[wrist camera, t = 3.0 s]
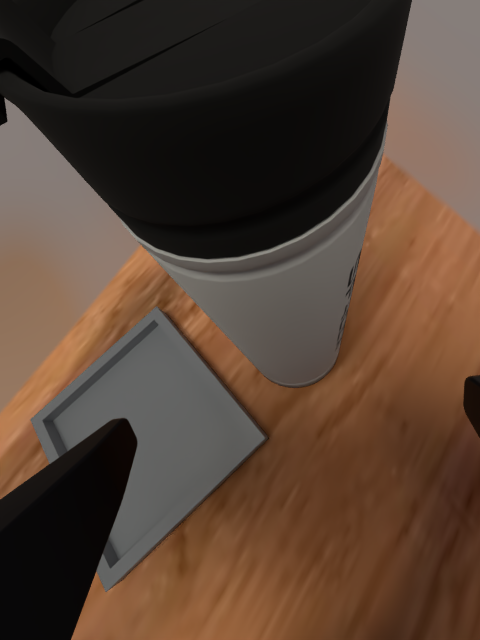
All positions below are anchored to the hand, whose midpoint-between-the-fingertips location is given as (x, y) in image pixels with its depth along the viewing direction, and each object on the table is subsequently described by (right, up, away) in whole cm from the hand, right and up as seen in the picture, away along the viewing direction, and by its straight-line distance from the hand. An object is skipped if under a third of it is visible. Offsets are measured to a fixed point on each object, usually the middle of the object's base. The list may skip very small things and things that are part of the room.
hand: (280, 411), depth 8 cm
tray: (-8, -6, +14) cm, 17 cm away
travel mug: (+3, 0, +14) cm, 14 cm away
